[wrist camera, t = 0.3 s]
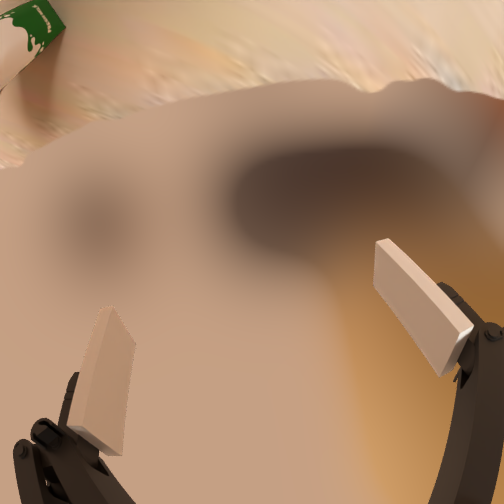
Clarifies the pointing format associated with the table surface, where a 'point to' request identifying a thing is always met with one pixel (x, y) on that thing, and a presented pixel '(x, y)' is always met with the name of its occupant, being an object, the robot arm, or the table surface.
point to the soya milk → (25, 36)
